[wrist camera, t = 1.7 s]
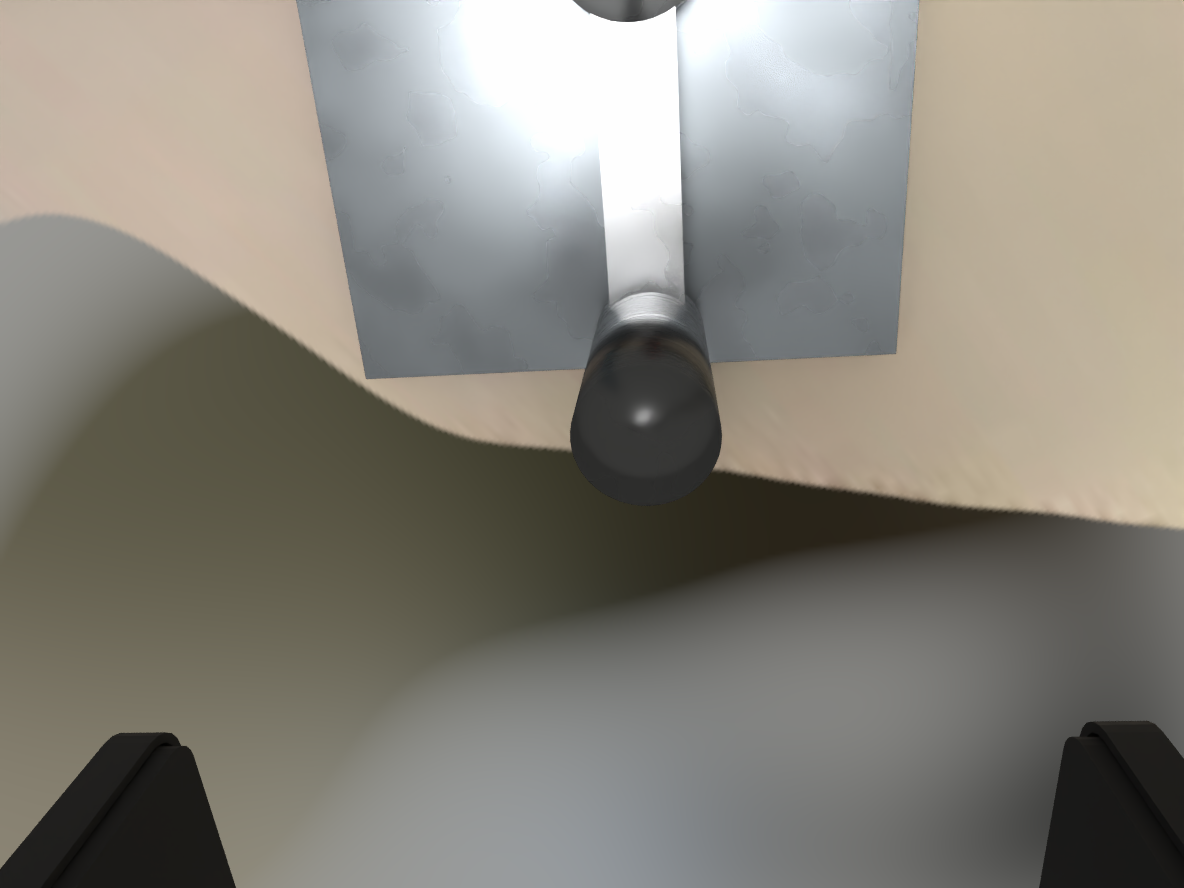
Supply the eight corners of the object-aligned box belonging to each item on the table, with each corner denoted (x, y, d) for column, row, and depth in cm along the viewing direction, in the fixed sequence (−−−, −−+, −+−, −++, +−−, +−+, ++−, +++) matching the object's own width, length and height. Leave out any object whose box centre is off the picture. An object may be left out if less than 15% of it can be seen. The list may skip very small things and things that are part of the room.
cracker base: (217, -378, 23) (117, -480, 19) (939, -477, 21) (1009, -616, 17) (357, 371, 31) (310, 417, 27) (888, 344, 29) (927, 390, 25)
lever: (529, -302, 21) (450, -534, 13) (709, -324, 21) (738, -577, 13) (585, 385, 28) (555, 508, 20) (720, 379, 28) (744, 502, 20)
